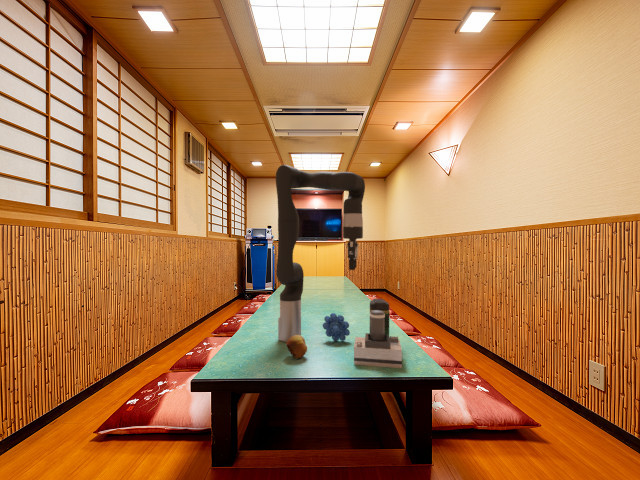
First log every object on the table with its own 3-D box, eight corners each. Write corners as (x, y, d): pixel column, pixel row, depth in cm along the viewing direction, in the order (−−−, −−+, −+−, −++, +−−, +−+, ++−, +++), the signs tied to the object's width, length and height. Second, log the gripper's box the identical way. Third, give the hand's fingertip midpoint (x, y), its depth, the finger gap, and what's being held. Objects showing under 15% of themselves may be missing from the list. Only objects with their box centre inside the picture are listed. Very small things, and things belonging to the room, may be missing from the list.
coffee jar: (391, 349, 114) (390, 302, 114) (370, 348, 115) (370, 301, 115) (387, 341, 124) (387, 297, 124) (368, 340, 124) (368, 297, 124)
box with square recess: (353, 364, 100) (353, 341, 100) (355, 352, 110) (355, 331, 110) (401, 368, 97) (401, 344, 97) (399, 355, 107) (399, 334, 108)
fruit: (300, 363, 101) (300, 340, 101) (281, 358, 105) (281, 336, 105) (311, 356, 107) (311, 334, 107) (293, 351, 111) (293, 331, 111)
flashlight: (380, 346, 100) (380, 314, 100) (367, 343, 103) (367, 311, 103) (387, 342, 104) (387, 311, 104) (374, 339, 107) (374, 309, 107)
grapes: (321, 344, 120) (321, 315, 120) (323, 338, 126) (323, 311, 126) (349, 345, 118) (349, 315, 118) (349, 339, 125) (349, 312, 125)
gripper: (344, 227, 117) (344, 267, 117) (340, 225, 103) (340, 270, 103) (363, 227, 116) (363, 267, 116) (362, 224, 102) (362, 270, 102)
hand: (352, 268), depth 109 cm, fingers open, 8 cm apart
